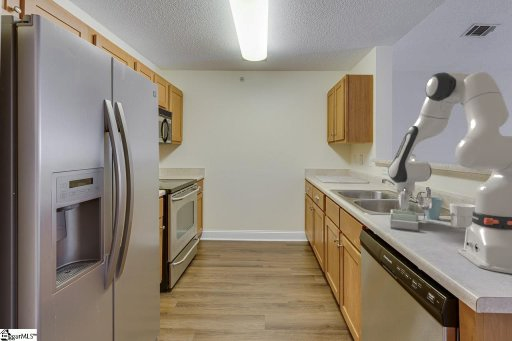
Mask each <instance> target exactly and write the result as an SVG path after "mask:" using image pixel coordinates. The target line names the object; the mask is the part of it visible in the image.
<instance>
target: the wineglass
mask: <svg viewBox="0 0 512 341" xmlns="http://www.w3.org/2000/svg"><path fill="white" fill-rule="evenodd" d="M429 197H430V196H428V197H427V196H419V199H418V202H417V203H418V208H419V209H420V210H421V211H423V220H418V223H421V224H430V222H429V221H427V220H426V211H428V210H430V209H431V208H432V200H431V198H429Z"/></svg>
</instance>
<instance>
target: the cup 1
mask: <svg viewBox="0 0 512 341" xmlns="http://www.w3.org/2000/svg"><path fill="white" fill-rule="evenodd" d="M428 197H429V198H431V200H432V208H431V209H430V210H428V211H425V212H426V214H425V218H426V219H427V220H428V219H429V220H436V221H437V220H439V219H440V214H441V209H442V204H443V198H441V197H433V196H432V197H431V196H428Z"/></svg>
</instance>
